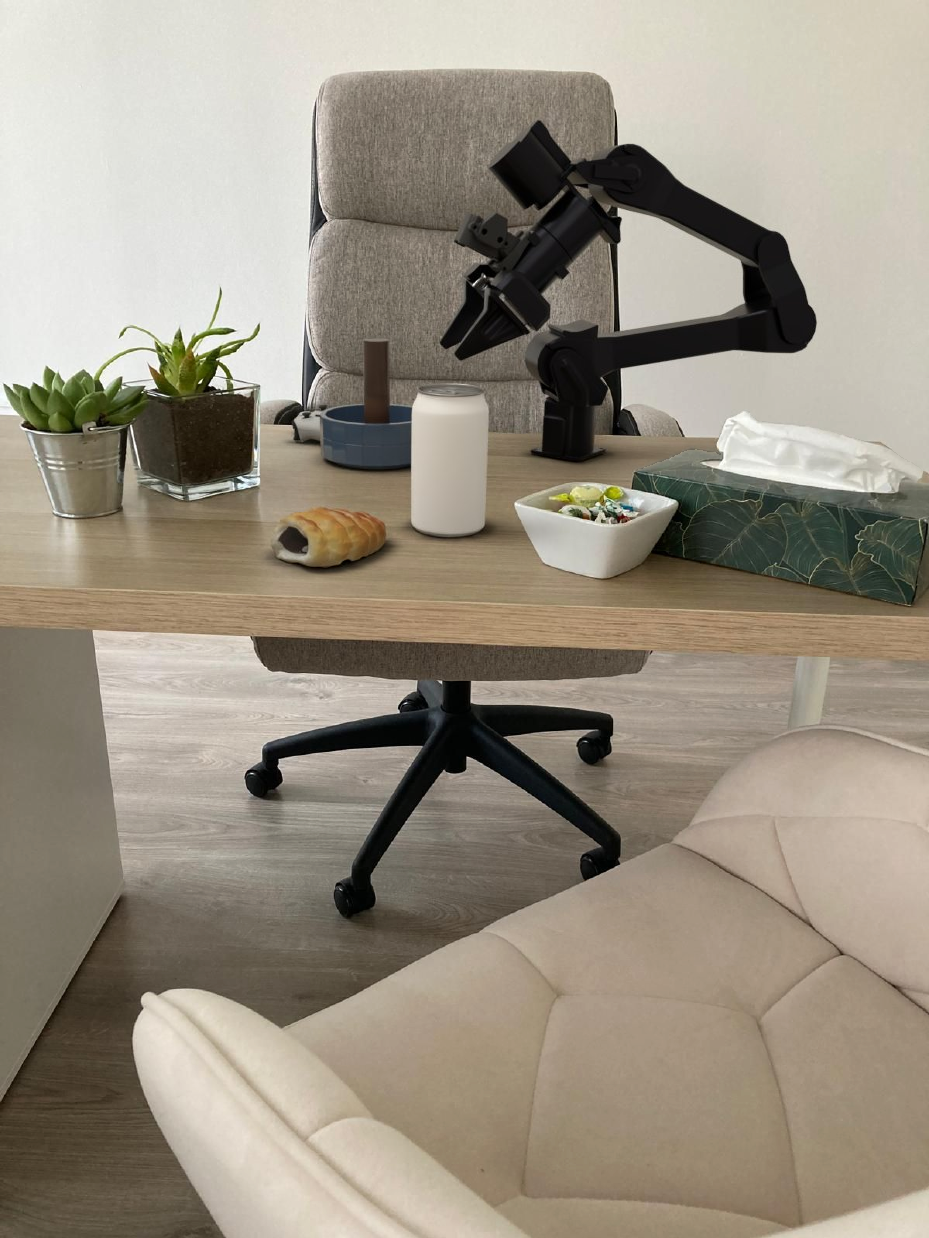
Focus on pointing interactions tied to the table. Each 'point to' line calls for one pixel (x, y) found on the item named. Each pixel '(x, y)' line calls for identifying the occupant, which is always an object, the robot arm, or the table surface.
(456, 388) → the can
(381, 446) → the bowl
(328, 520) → the pastry
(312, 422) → the game controller
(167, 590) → the table surface
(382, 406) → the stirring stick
